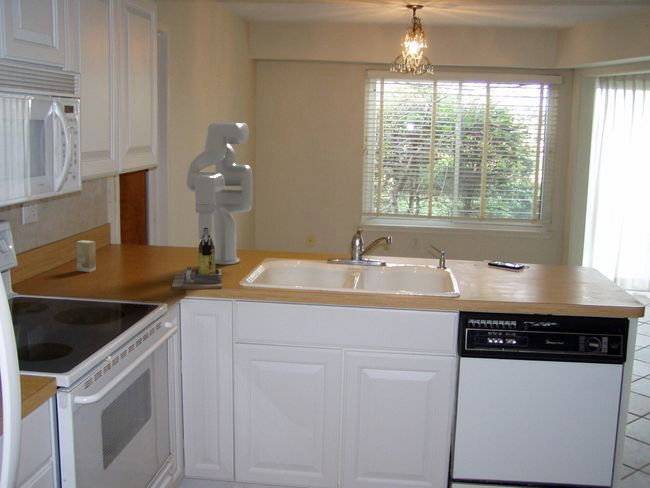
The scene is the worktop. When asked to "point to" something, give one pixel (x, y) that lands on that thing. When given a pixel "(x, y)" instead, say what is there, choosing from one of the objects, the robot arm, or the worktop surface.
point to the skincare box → (86, 256)
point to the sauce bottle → (206, 260)
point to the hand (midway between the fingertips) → (206, 252)
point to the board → (198, 280)
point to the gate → (188, 274)
